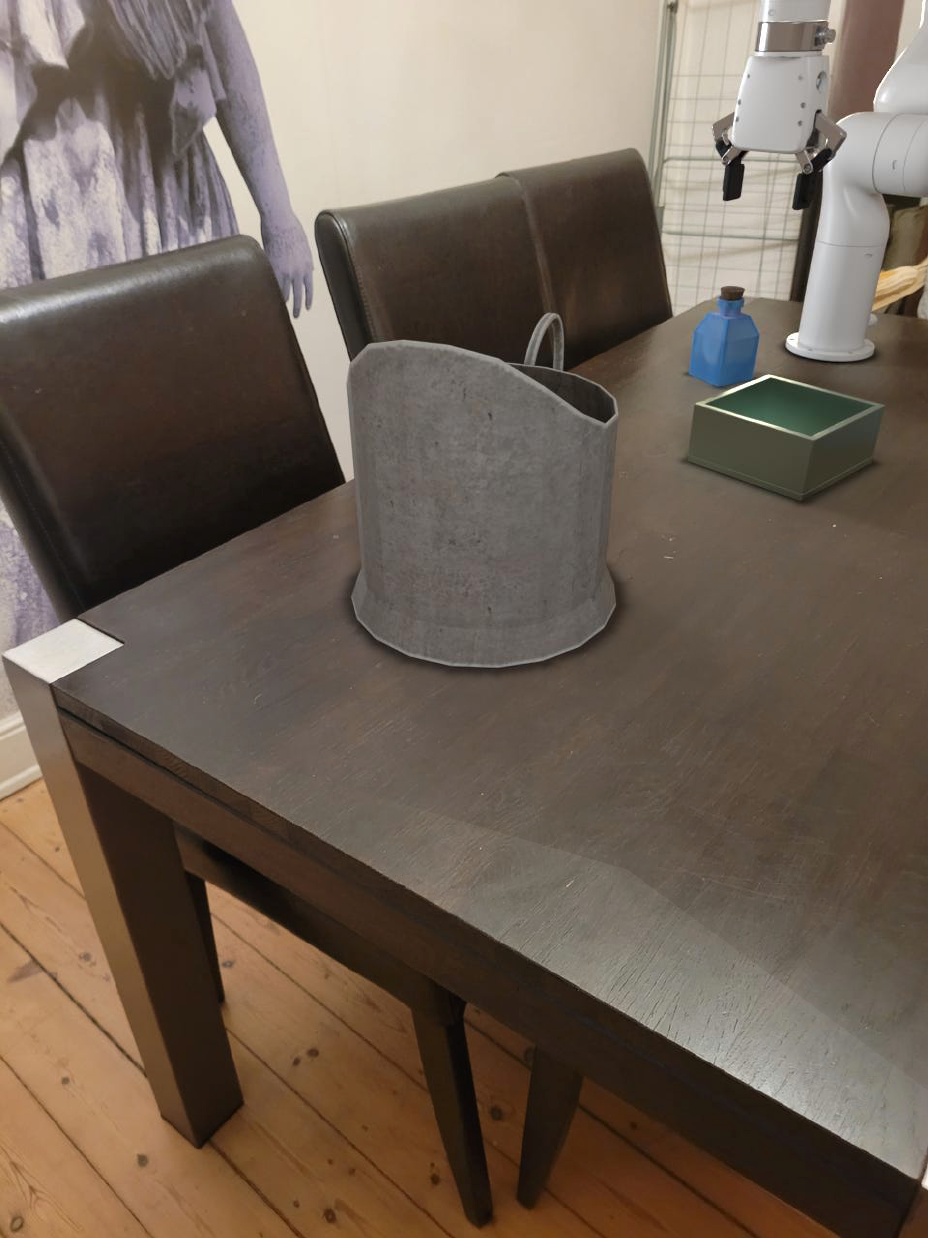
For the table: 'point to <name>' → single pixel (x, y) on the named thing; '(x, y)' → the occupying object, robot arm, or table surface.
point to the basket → (784, 435)
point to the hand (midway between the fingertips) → (765, 203)
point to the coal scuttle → (480, 502)
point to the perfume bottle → (725, 342)
